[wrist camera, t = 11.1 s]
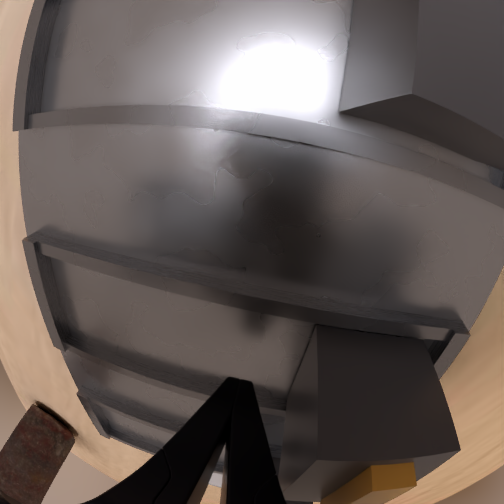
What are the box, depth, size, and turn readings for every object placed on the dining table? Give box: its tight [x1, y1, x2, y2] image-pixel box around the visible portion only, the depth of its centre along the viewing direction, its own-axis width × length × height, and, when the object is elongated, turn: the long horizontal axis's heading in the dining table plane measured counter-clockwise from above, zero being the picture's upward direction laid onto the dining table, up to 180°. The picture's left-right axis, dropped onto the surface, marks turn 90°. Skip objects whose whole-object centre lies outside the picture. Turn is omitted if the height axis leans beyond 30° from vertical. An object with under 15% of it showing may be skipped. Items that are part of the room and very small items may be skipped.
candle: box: [0, 404, 75, 504], centre depth 16 cm, size 8×7×20 cm
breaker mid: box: [278, 325, 461, 504], centre depth 7 cm, size 4×4×5 cm
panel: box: [13, 0, 504, 475], centre depth 10 cm, size 18×28×3 cm, turn 172°
